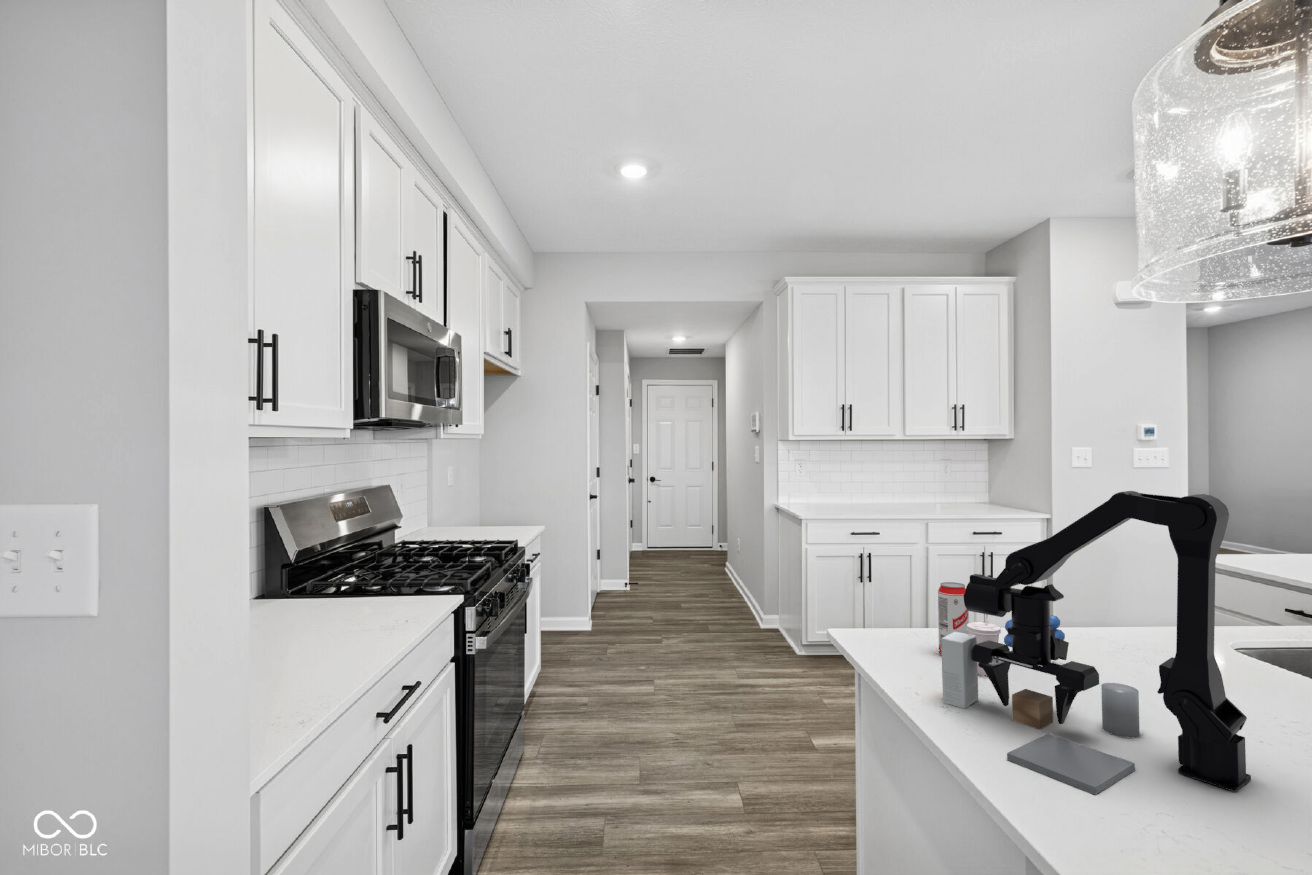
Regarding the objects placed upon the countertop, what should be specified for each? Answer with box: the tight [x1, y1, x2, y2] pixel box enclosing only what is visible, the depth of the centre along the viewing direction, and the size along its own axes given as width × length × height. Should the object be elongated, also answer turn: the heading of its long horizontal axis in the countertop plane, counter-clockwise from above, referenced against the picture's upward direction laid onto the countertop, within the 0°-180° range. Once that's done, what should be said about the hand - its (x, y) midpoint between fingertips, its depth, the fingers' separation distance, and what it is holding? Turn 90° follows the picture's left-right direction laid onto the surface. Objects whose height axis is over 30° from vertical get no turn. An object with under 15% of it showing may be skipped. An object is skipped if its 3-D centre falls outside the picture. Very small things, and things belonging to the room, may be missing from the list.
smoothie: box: [967, 614, 1002, 677], centre depth 135 cm, size 6×6×14 cm
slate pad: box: [1006, 732, 1136, 796], centre depth 96 cm, size 12×12×1 cm
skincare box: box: [941, 632, 979, 709], centre depth 121 cm, size 6×4×12 cm
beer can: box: [937, 581, 970, 655], centre depth 146 cm, size 6×6×16 cm
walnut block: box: [1011, 688, 1054, 730], centre depth 111 cm, size 4×4×4 cm
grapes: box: [1003, 614, 1066, 648], centre depth 142 cm, size 12×7×12 cm, turn 51°
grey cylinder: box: [1100, 682, 1141, 739], centre depth 107 cm, size 5×5×7 cm
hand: (1032, 714), depth 111 cm, fingers open, 9 cm apart
